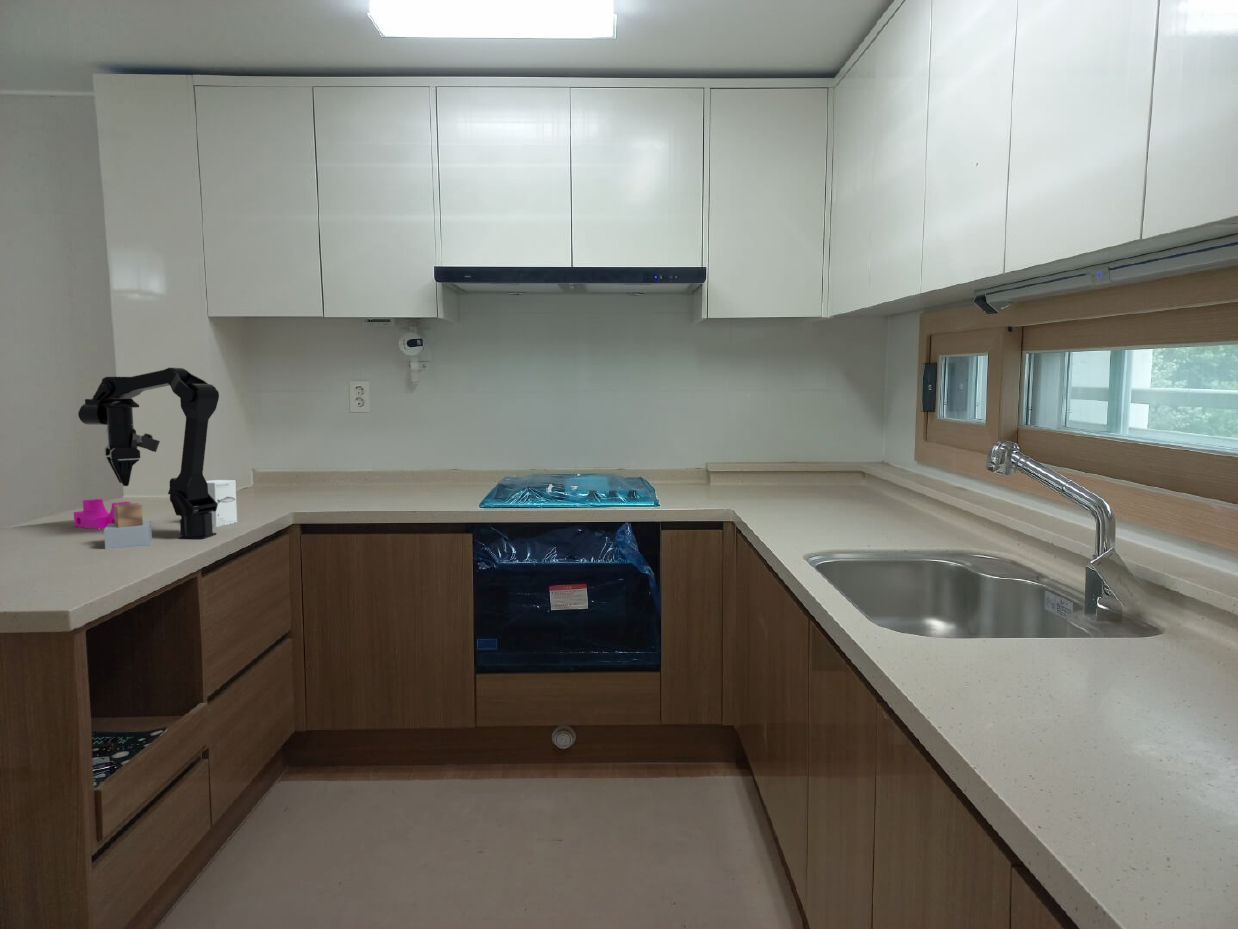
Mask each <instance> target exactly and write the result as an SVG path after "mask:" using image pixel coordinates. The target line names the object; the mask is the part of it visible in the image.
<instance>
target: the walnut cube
mask: <svg viewBox="0 0 1238 929" xmlns="http://www.w3.org/2000/svg"><path fill="white" fill-rule="evenodd" d="M114 519H115V525H116V526H117V527H118V528H120V527H130V526H140V525H143V522H144V521H143V505H142V504H141V503H138V502H134V503H133V502H131V503H130V504H118V505H114Z"/></svg>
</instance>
